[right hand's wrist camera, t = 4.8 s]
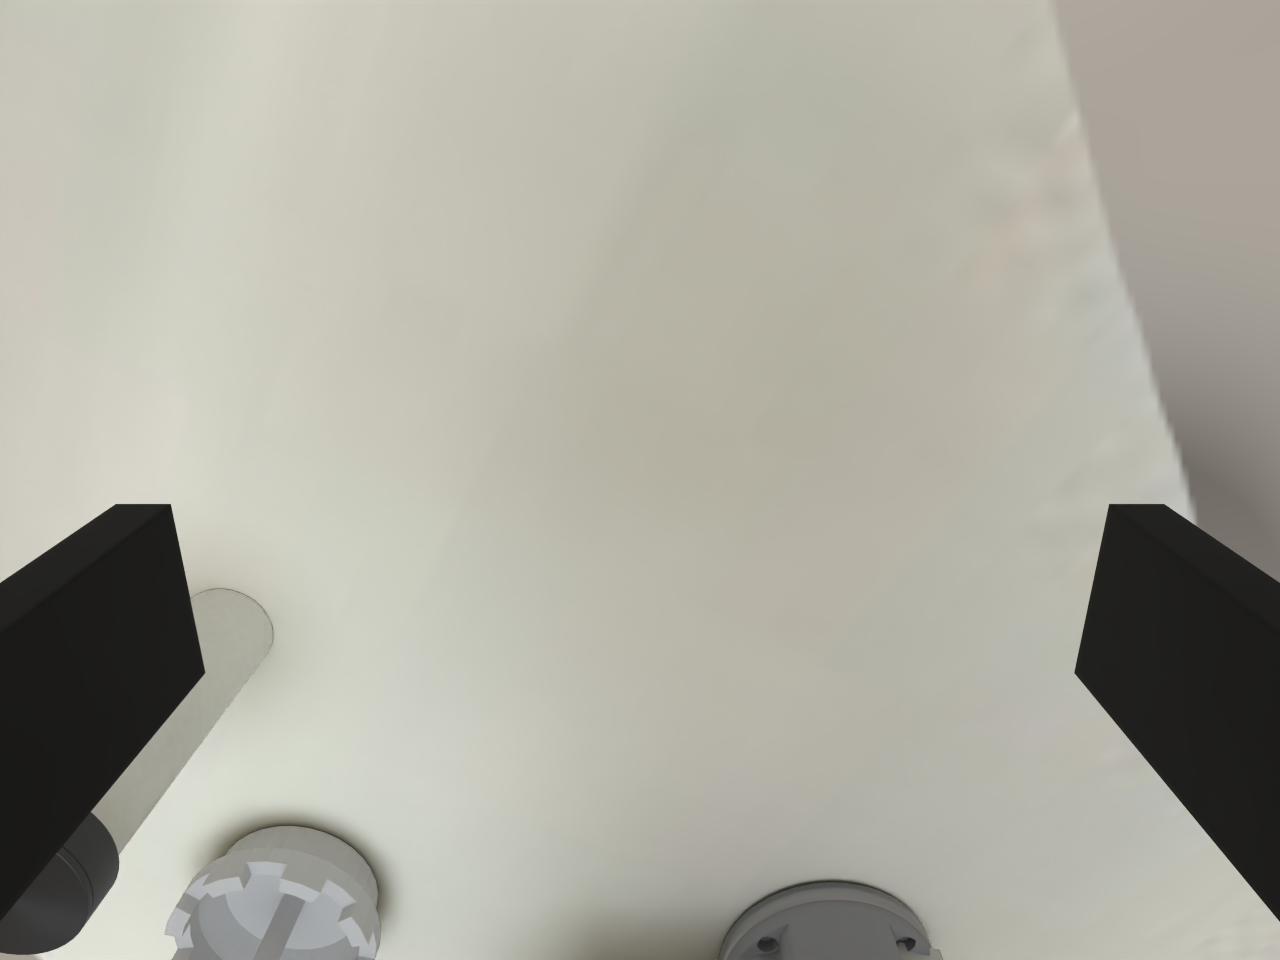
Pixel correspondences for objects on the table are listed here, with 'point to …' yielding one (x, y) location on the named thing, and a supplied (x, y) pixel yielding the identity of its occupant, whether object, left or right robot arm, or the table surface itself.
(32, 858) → the right robot arm
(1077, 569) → the table surface
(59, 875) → the lid
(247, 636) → the jar
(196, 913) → the flag stand
